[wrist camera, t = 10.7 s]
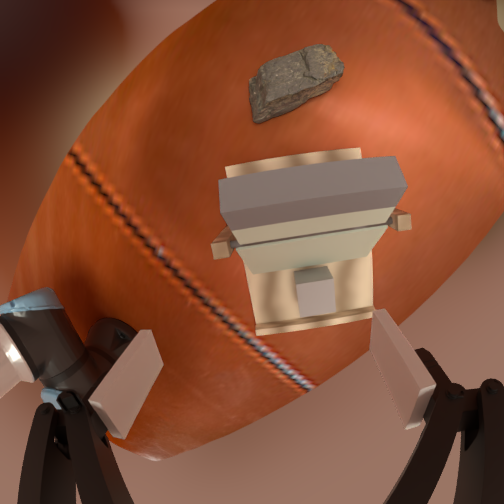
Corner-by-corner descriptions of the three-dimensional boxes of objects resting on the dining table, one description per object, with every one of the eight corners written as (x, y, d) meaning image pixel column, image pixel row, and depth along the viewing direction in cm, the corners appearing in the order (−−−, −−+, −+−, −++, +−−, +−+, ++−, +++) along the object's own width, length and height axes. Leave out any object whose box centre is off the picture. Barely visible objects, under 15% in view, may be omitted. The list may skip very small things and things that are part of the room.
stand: (252, 327, 49) (244, 378, 35) (219, 168, 41) (194, 166, 28) (376, 307, 46) (404, 351, 32) (363, 147, 38) (401, 138, 25)
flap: (250, 253, 45) (253, 274, 44) (210, 181, 25) (211, 215, 23) (361, 236, 43) (366, 256, 42) (401, 155, 22) (414, 186, 21)
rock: (306, 24, 29) (358, 59, 28) (309, 48, 36) (354, 82, 35) (220, 87, 33) (268, 129, 32) (234, 106, 40) (276, 146, 38)
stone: (293, 271, 44) (297, 301, 45) (295, 284, 39) (300, 317, 40) (326, 265, 43) (329, 296, 45) (333, 278, 38) (335, 311, 39)
